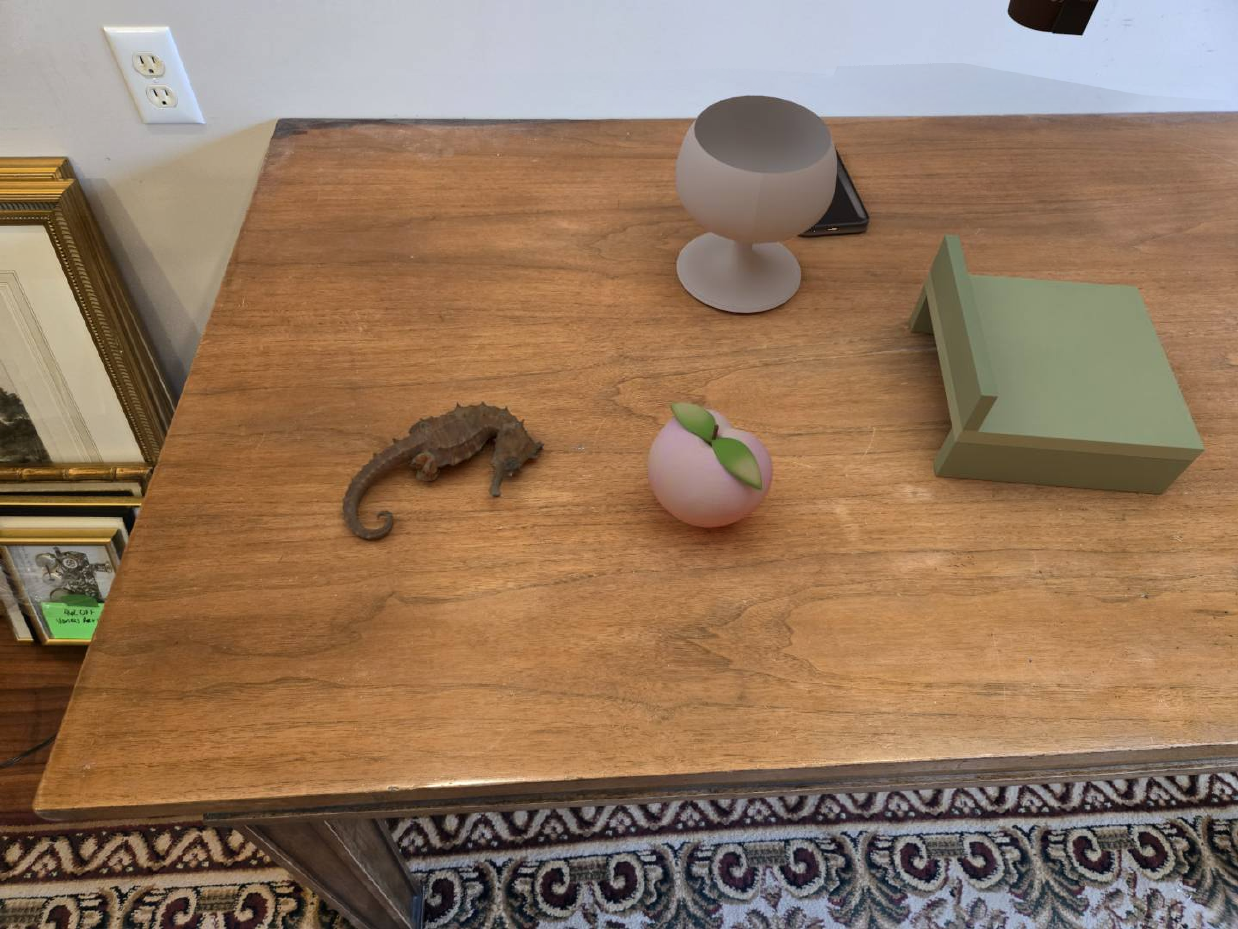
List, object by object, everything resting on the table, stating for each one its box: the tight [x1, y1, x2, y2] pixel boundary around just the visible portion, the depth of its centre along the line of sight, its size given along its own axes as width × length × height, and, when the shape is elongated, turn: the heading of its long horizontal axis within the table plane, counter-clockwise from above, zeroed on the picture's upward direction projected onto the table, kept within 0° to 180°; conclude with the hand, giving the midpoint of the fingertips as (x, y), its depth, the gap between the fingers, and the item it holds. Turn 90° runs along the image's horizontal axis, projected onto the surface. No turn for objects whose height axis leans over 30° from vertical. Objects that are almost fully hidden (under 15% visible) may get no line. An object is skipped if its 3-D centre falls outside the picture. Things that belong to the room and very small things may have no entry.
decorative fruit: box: [647, 401, 774, 528], centre depth 61 cm, size 9×8×10 cm
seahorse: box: [342, 401, 545, 541], centre depth 66 cm, size 9×16×3 cm, turn 111°
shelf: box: [908, 233, 1206, 495], centre depth 69 cm, size 18×18×10 cm
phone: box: [798, 144, 870, 237], centre depth 89 cm, size 8×1×15 cm
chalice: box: [674, 95, 837, 314], centre depth 76 cm, size 14×14×15 cm
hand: (1058, 13), depth 79 cm, fingers closed on coffee mug, 6 cm apart
